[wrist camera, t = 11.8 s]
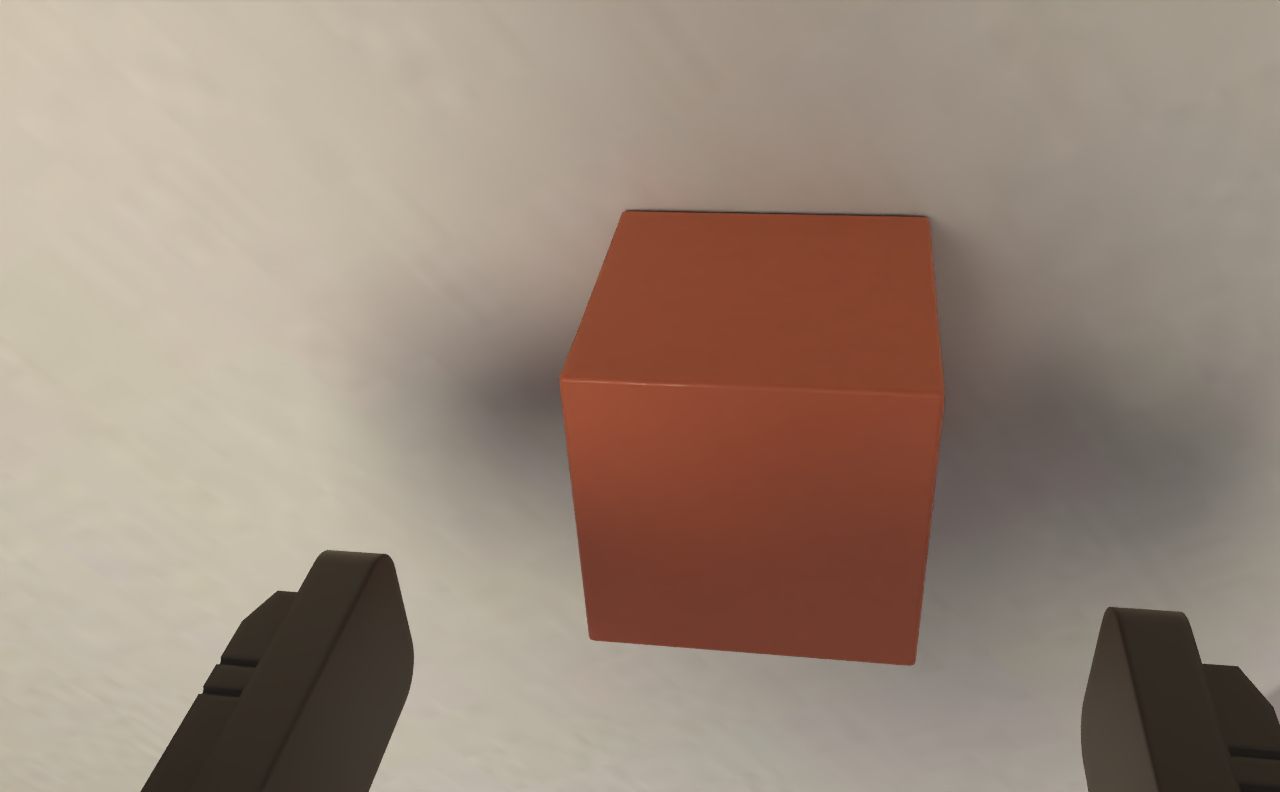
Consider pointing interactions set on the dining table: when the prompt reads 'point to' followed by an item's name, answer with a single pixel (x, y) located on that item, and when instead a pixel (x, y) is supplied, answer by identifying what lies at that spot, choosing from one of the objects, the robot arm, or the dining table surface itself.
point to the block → (758, 433)
